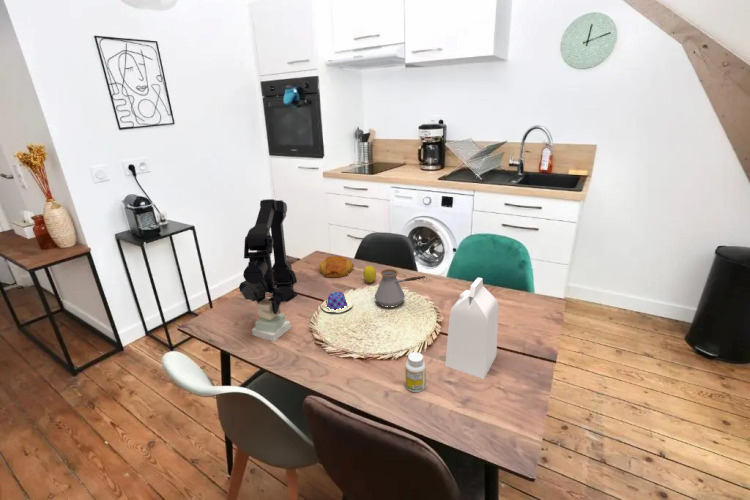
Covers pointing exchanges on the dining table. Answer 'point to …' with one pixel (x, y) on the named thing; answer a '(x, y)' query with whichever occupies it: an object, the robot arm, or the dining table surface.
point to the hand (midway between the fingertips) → (269, 312)
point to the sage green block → (270, 324)
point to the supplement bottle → (415, 372)
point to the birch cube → (266, 309)
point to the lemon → (369, 274)
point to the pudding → (336, 300)
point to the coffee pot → (391, 288)
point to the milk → (473, 331)
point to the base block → (272, 336)
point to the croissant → (336, 267)
